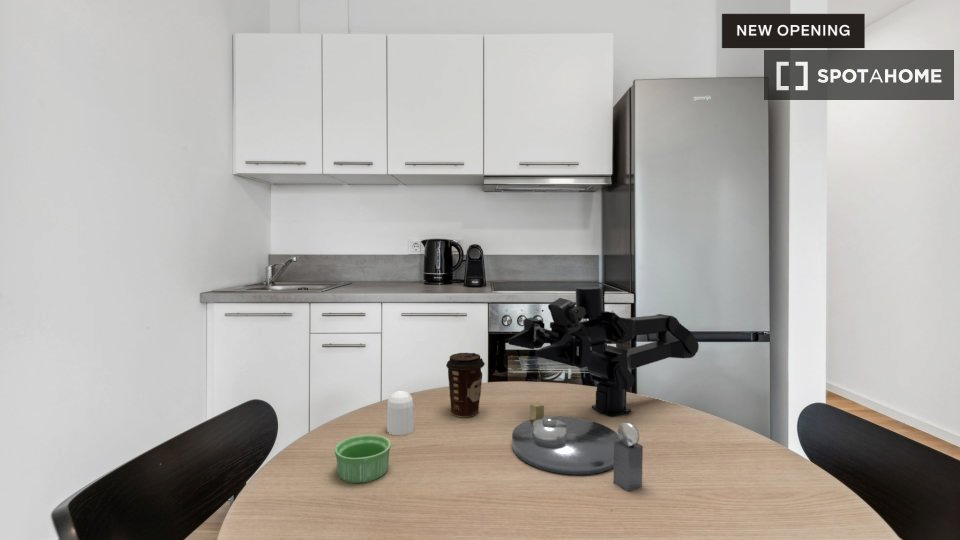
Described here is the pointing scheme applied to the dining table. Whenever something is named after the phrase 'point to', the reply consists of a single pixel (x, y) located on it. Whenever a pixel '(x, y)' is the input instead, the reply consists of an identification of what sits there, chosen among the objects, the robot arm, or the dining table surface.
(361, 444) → the ramekin
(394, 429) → the salt shaker
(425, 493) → the dining table surface
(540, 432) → the cover
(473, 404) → the coffee cup
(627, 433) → the indicator stand
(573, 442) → the turntable
